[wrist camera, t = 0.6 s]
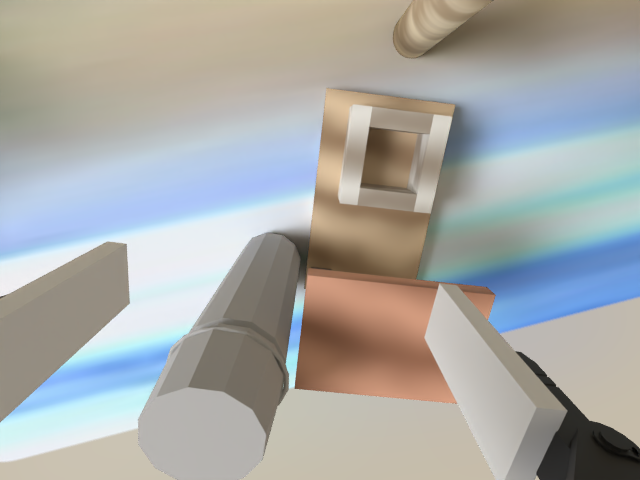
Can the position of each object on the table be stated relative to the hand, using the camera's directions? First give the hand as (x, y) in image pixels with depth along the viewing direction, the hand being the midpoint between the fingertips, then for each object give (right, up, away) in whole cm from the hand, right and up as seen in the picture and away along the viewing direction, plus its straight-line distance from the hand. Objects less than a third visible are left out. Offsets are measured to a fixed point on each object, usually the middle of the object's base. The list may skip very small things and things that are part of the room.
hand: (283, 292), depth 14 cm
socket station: (+7, +7, +24) cm, 26 cm away
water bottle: (-5, -1, +27) cm, 27 cm away
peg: (+11, +23, +19) cm, 32 cm away
